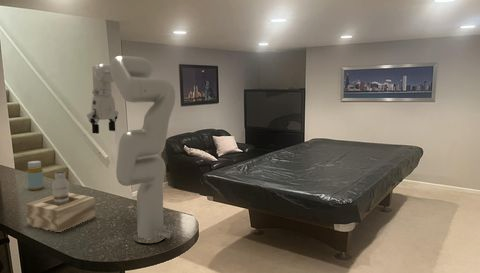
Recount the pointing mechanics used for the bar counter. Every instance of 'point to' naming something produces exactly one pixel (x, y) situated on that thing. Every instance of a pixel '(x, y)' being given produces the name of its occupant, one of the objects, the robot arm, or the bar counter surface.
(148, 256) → the bar counter surface
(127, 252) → the bar counter surface
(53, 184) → the plastic bottle
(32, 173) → the bottle
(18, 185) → the bar counter surface
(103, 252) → the bar counter surface
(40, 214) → the well block
